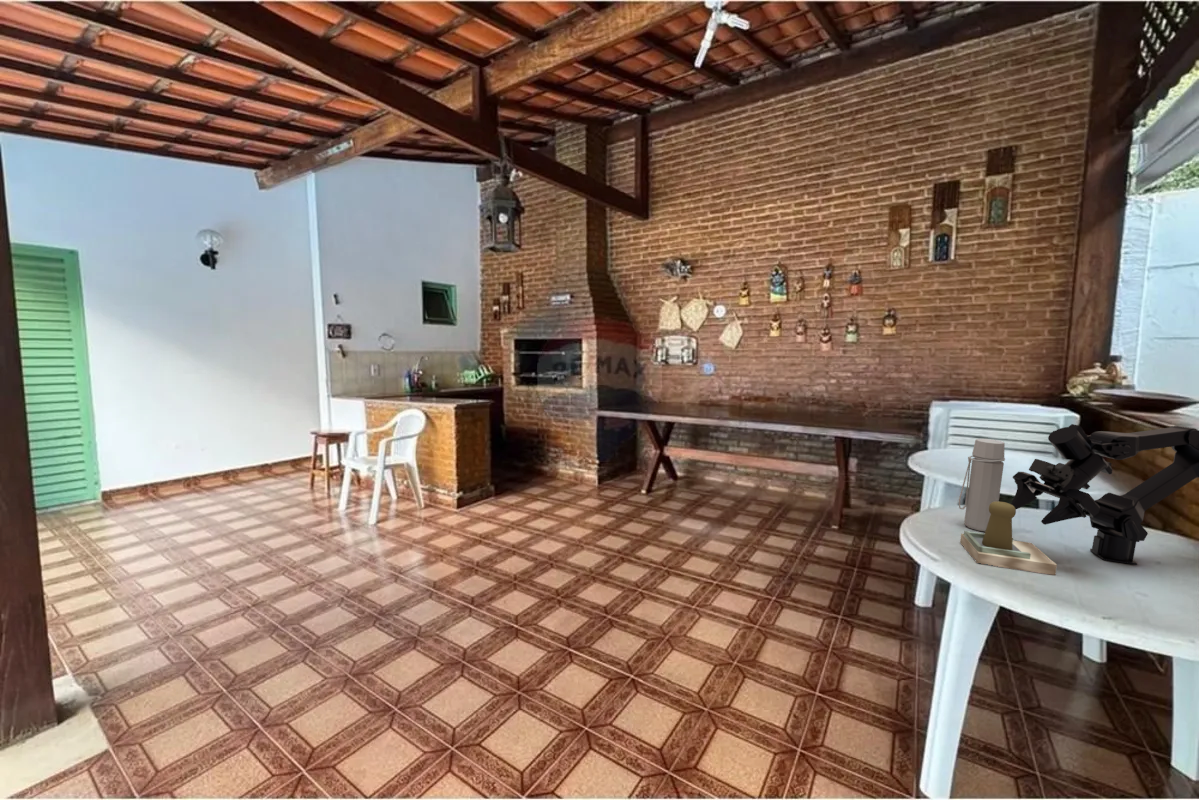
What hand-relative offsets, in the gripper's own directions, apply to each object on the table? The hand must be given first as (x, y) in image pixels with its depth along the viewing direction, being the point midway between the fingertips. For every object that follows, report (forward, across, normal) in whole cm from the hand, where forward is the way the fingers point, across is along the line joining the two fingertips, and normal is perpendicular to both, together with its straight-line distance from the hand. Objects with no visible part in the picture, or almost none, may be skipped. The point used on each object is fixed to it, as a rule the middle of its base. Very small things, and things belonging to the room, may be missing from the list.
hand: (1026, 515), depth 125 cm
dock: (+11, +1, +4) cm, 11 cm away
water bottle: (+6, -19, +10) cm, 22 cm away
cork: (+10, 0, +1) cm, 10 cm away
